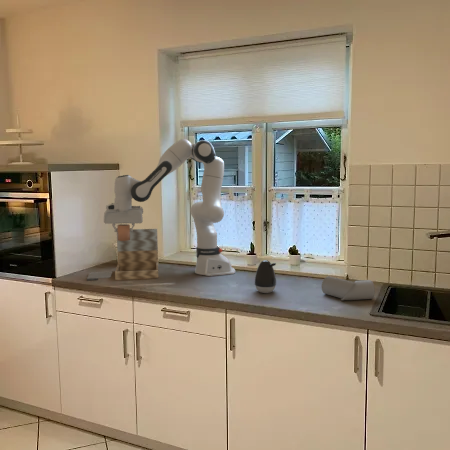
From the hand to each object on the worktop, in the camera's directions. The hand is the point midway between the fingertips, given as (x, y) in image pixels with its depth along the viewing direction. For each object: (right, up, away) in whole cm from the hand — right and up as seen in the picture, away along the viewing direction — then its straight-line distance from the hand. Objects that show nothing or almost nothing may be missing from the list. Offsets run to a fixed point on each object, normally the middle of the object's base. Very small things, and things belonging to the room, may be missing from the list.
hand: (123, 231), depth 251 cm
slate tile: (-13, -24, +3) cm, 28 cm away
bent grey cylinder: (+109, -29, -37) cm, 119 cm away
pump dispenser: (+73, -28, -28) cm, 83 cm away
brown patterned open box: (+7, -24, +4) cm, 25 cm away
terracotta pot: (0, -4, +1) cm, 4 cm away
